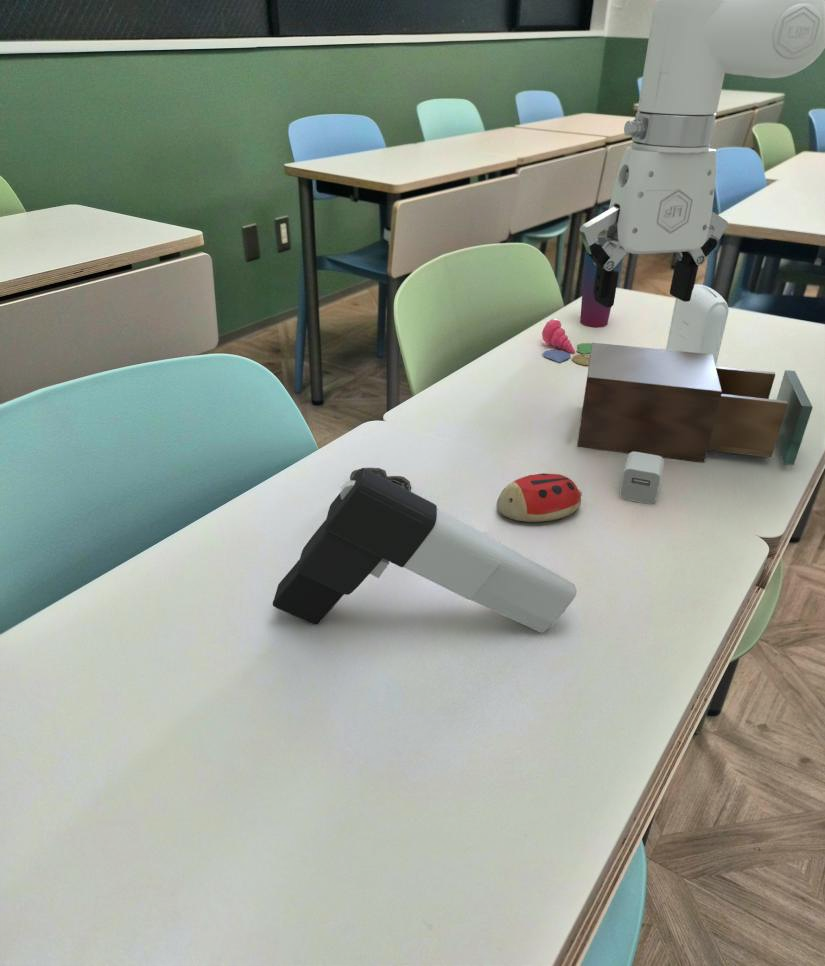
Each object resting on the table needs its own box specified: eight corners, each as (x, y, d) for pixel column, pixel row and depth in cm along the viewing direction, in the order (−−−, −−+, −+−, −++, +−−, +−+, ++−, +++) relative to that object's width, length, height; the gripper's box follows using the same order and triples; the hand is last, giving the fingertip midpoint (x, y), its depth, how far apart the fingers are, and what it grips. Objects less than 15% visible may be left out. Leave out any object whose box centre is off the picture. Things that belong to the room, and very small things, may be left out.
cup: (605, 331, 132) (618, 246, 125) (569, 324, 135) (580, 241, 128) (617, 321, 137) (630, 239, 129) (582, 314, 140) (594, 233, 133)
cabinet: (697, 419, 101) (712, 354, 96) (704, 462, 91) (722, 391, 86) (582, 406, 104) (592, 342, 100) (577, 446, 94) (587, 376, 89)
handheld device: (279, 580, 66) (356, 457, 60) (483, 674, 72) (576, 571, 65) (270, 609, 63) (351, 481, 56) (485, 706, 68) (583, 600, 61)
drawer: (788, 426, 98) (805, 371, 94) (804, 466, 88) (824, 408, 84) (666, 412, 101) (677, 358, 97) (669, 449, 92) (682, 392, 88)
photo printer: (661, 352, 123) (675, 279, 117) (684, 350, 124) (699, 277, 118) (693, 375, 115) (711, 297, 108) (718, 373, 116) (737, 296, 109)
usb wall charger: (618, 497, 83) (624, 467, 81) (626, 470, 89) (631, 440, 87) (655, 505, 82) (661, 474, 80) (660, 476, 88) (666, 446, 86)
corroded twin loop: (367, 469, 88) (367, 462, 87) (421, 491, 84) (421, 483, 83) (339, 486, 84) (339, 479, 84) (394, 510, 80) (394, 501, 80)
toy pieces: (523, 354, 122) (525, 329, 119) (552, 336, 130) (555, 312, 127) (591, 371, 116) (595, 344, 114) (617, 350, 124) (621, 325, 122)
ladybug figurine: (486, 500, 83) (488, 473, 81) (563, 486, 85) (567, 460, 84) (511, 532, 77) (514, 504, 75) (593, 516, 80) (598, 489, 78)
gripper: (614, 138, 68) (588, 317, 77) (770, 136, 72) (728, 306, 81) (577, 130, 74) (557, 296, 83) (722, 128, 79) (689, 287, 87)
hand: (641, 301), depth 82 cm, fingers open, 9 cm apart
